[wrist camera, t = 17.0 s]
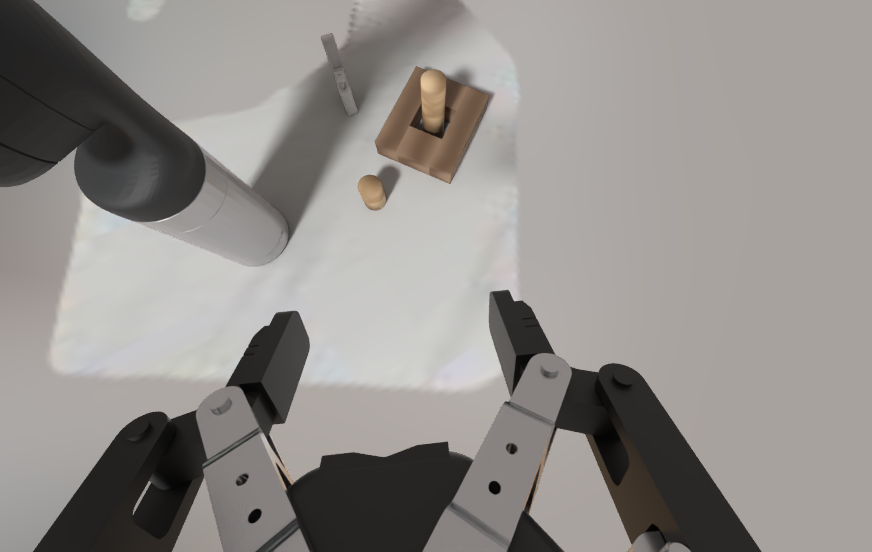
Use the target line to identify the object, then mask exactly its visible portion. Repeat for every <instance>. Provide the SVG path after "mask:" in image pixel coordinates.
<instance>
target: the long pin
mask: <svg viewBox="0 0 872 552" xmlns="http://www.w3.org/2000/svg"><path fill="white" fill-rule="evenodd" d="M445 95H446V77H445V75H444V74H443V73H442V72H441V71H439V70H435V69H432V70H428V71H426V72H424V73H423V75H422V76H421V100H422V122H423V132H426V133H428V134H431V135H433V136H435V137H438V138H441V137H442V136H443V132H444V113H445Z"/></svg>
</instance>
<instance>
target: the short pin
mask: <svg viewBox="0 0 872 552" xmlns="http://www.w3.org/2000/svg"><path fill="white" fill-rule="evenodd" d="M358 190H359V192H360V194H361V196H362V198H363V200H364V203H365V205H366V206H367V207H368V208H369V209H371V210H379V209H381V208H383V207H384V206H385V204H386V196H385V193H384V190H383V187H382V184H381V181H380V180H379V178H377V177H376V176H374V175H366V176H364V177H362V178H361V179H360V180H359V182H358Z"/></svg>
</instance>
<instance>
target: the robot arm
mask: <svg viewBox="0 0 872 552" xmlns="http://www.w3.org/2000/svg"><path fill="white" fill-rule="evenodd" d="M76 147H77V151H76V155H75V161H74V162H75V163H74V170H75V176H76V180H77V183H78V185H79V187H80V189H81V190H82V192H83V193H84V195H85V196H86V197H87V198H88V199H89V200H91V201H92V202H93V203H94V204H96V205H97V206H99V207H100V208H102V209H104V210H106V211H108V212H111V213H113V214H116V215H118V216H121V217H123V218H126V219H128V220H131V221H134V222H136V223H139V224H141V225H144V226H146V227H149V228H151V229H154V230H157V231H159V232H162V233H164V234H167V235H169V236H172V237H174V238H177V239H179V240H182V241H185V242H187V243H190V244H192V245H195V246H197V247H200V248H202V249H205V250H207V251H210V252H212V253H215V254H217V255H220V256H222V257H225V258H227V259H230V260H232V261H235V262H237V263H240V264H242V265H247V266H260V265H264V264H266V263H269V262H271V261H272V260H274V259H275V258H276V257H278V256H279V255H280V254H281V252H282V251H283V250H284V248H285V246H286V244H287V241H288V236H289V228H288V224H287V222H286V220H285V218H284V216H283V215H282V214H281V213H280V212H279V211H278V210H276V209H275V208H274V207H273V206H272V205H270V204H269V203H268V202H267V201H266V200H265V199H263V198H262V197H261V196H260V195H259V194H257V193H256V192H255V191H254V190H253V189H251V188H250V187H249V186H248V185H247V184H245V183H244V182H243V181H242V180H241V179H240V178H238V177H237V176H236V175H235V174H234V173H232V172H231V171H230V170H229V169H228V168H226V167H225V166H224V165H223V164H222V163H220V162H219V161H218V160H217V159H216V158H214V157H213V156H212V155H211V154H209V153H208V152H207V151H206V150H205V149H203V148H202V147H201V146H200V145H199V144H197V143H196V142H195V141H194V140H193V139H191V138H190V137H189V136H188V135H186V134H185V133H184V132H183V131H181V130H180V129H179V128H178V127H176V126H175V125H174V124H173V123H171V122H170V121H169V120H168V119H166V118H165V117H164V116H162V115H161V114H160V113H159V112H158V111H156V110H155V109H154V108H153V107H151V106H150V105H149V104H148V103H147V102H146V101H144V100H143V99H142V98H141V97H140V96H139V95H137V94H136V93H135V92H134V91H133V90H132V89H131V88H130V87H129V86H128V85H127V84H125V83H124V82H123V81H122V80H121V79H120V78H119V77H118V76H117V75H115V73H113V72H112V71H111V70H110V69H109V68H108V67H107V66H106V65H105V64H103V62H101V61H100V60H99V59H98V58H97V57H96V56H95V55H94V54H93V53H92V52H91V51H89V50H88V49H87V48H86V47H85V46H84V45H83V44H82V43H81V42H80V41H78V39H76V38H75V37H74V36H73V35H72V34H71V33H70V32H69V31H67V30H66V29H65V28H64V27H63V26H62V25H61V24H60V23H59V22H57V21H56V20H55V19H54V18H53V17H52V16H51V15H49V14H48V13H47V12H46V11H45V10H44V9H43V8H42V7H41V6H39V5H38V4H37V3H36V2H35V1H33V0H0V187H11V186H17V185H21V184H24V183H27V182H29V181H31V180H33V179H35V178H37V177H39V176H40V175H42V174H44V173H46V172H47V171H48V170H50V169H51V168H52V167H53V166H55V165H56V164H57V163H58V161H61V160H62V159H63V158H65V157H66V156H67V155H68V154H69V153H70V152H72V151H73V150H74V149H75V148H76ZM489 328H490V333H491V336H492V339H493V342H494V346H495V349H496V352H497V355H498V358H499V362H500V365H501V368H502V371H503V374H504V377H505V381H506V384H507V387H508V390H509V393H510V396H511V399H510V400H509V402H504V404H503V405H502V407H501V408H500V410H499V412H498V414H497V416H496V418H495V420H494V422H493V424H492V426H491V428H490V430H489V432H488V434H487V435H486V437H485V439H484V441H483V443H482V445H481V447H480V449H479V451H478V453H477V455H476V457H475V459H474V460H472V459H471V458H469V457H467V456H465V455H463V454H459V453H456V452H450V451H449V448H448V442H441V443H432V444H423V445H416V446H414V447H411V448H409V449H406V450H403V451H401V452H398V453H395V454H393V455H390V456H387V457H378V456H372V455H365V454H360V453H354V452H353V453H344V454H335V455H326V456H322V459H321V464H320V467H319V468H316V469H314V470H312V471H310V472H308V473H307V474H305V475H304V476H302V477H301V478H299V479H298V480H297V481H296V482H293V480H292V478H291V476H290V474H289V472H288V470H287V468H286V466H285V464H284V462H283V459H282V457H281V455H280V453H279V451H278V449H277V447H276V445H275V443H274V440H273V438H272V437H271V435H270V430H271V427H272V425H273V424H283V423H285V421H286V418H287V415H288V412H289V409H290V406H291V403H292V400H293V397H294V394H295V392H296V389H297V386H298V383H299V380H300V377H301V374H302V371H303V368H304V365H305V362H306V359H307V356H308V353H309V348H310V343H309V338H308V335H307V332H306V330H305V327H304V325H303V322H302V320H301V317H300V315H299V313H298V312H297V311H287V312H278V313H276V314H275V315H274V317H273V319H272V321H271V323H270V325H269V326H264V327H263V328H262V329H261V330H260V331H259V332H257V333H256V334H255V335H254V337H253V338H252V340H251V342H250V344H249V346H248V348H247V349H246V351H245V353H244V356H243V357H242V358H241V360H240V362H239V363H238V365H237V367H236V369H235V371H234V372H233V374H232V376H231V378H230V379H229V381H228V383H227V385H226V387H225V388H222V389H219V390H217V391H215V392H214V393H212V394H211V395H209V396H208V397H207V398H206V399H204V401H203V402H202V403H201V404H200V405H199V407H198V409H197V410H196V411H192V412H190V413H187V414H184V415H181V416H178V417H176V418H173V419H169V417H168V416H167V415H166V414H165V413H163V412H151V413H148V414H145V415H143V416H141V417H138V418H137V419H135V420H133V421H132V422H130V423H129V424H128V425H126V426H125V427H124V428H123V429H122V430H121V431H120V432H119V434H118V435H117V436H116V437H115V439H114V440H113V441H112V443H111V444H110V446H109V447H108V448H107V450H106V451H105V453H104V454H103V455H102V457H101V458H100V459H99V461H98V462H97V464H96V465H95V466H94V468H93V469H92V471H91V472H90V473H89V475H88V476H87V477H86V479H85V480H84V482H83V483H82V484H81V486H80V487H79V489H78V490H77V491H76V493H75V494H74V496H73V497H72V498H71V500H70V501H69V502H68V504H67V505H66V507H65V508H64V509H63V511H62V512H61V514H60V515H59V516H58V518H57V519H56V521H55V522H54V524H53V525H52V526H51V528H50V529H49V530H48V532H47V533H46V535H45V536H44V537H43V539H42V540H41V541H40V543H39V544H38V546H37V547H36V548H35V550H34V551H33V552H172V550H173V548H174V545H175V543H176V541H177V538H178V536H179V534H180V531H181V529H182V527H183V525H184V522H185V520H186V517H187V515H188V513H189V511H190V509H191V506H192V504H193V502H194V499H195V497H196V495H197V492H198V490H199V488H200V485H201V483H202V481H203V479H204V476H205V480H206V484H207V488H208V492H209V496H210V500H211V504H212V508H213V512H214V516H215V519H216V523H217V528H218V531H219V536H220V540H221V543H222V547H223V551H224V552H564V551H563V550H562V549H561V548H560V547H559V546H558V545H557V544H556V543H555V541H554V540H553V539H552V538H551V537H550V536H549V535H548V534H547V533H546V532H545V531H544V530H543V529H542V528H541V527H540V526H539V525H538V524H537V523H536V522H535V521H534V519H533V518H532V517H531V516H530V515H529V513H530V509H531V507H532V504H533V501H534V498H535V495H536V492H537V489H538V485H539V482H540V479H541V476H542V473H543V469H544V466H545V463H546V461H547V458H548V455H549V452H550V449H551V446H552V443H553V440H554V437H555V434H556V431H557V429H558V428H560V429H565V430H569V431H574V432H579V433H584V434H585V435H586V437H587V439H588V442H589V444H590V446H591V449H592V451H593V453H594V456H595V458H596V461H597V463H598V466H599V468H600V470H601V473H602V475H603V477H604V480H605V482H606V484H607V487H608V489H609V492H610V494H611V496H612V499H613V501H614V503H615V506H616V508H617V511H618V513H619V515H620V518H621V520H622V523H623V525H624V527H625V530H626V532H627V535H628V537H629V539H630V542H631V544H632V546H631V547H630V548H629V550H628V551H627V552H761V550H760V549H759V547H758V546H757V544H756V543H755V541H754V540H753V539H752V537H751V536H750V534H749V533H748V531H747V530H746V528H745V527H744V525H743V524H742V522H741V521H740V519H739V518H738V516H737V515H736V514H735V512H734V511H733V509H732V508H731V506H730V505H729V503H728V502H727V500H726V499H725V498H724V496H723V495H722V493H721V491H720V490H719V488H718V487H717V486H716V484H715V483H714V481H713V480H712V478H711V477H710V475H709V474H708V472H707V471H706V469H705V468H704V466H703V465H702V464H701V462H700V461H699V459H698V458H697V457H696V455H695V453H694V452H693V450H692V449H691V447H690V446H689V444H688V443H687V441H686V440H685V438H684V437H683V435H682V434H681V433H680V432H679V430H678V428H677V427H676V425H675V424H674V422H673V421H672V419H671V418H670V416H669V415H668V413H667V412H666V411H665V409H664V408H663V406H662V405H661V403H660V402H659V400H658V399H657V398H656V396H655V394H654V393H653V392H652V390H651V389H650V387H649V386H648V384H647V383H646V381H645V380H644V378H643V377H642V376H641V375H640V374H639V373H638V372H637V371H635V370H633V369H632V368H630V367H628V366H625V365H621V364H614V363H612V364H607V365H604V366H603V367H601V368H600V370H599V373H598V372H591V371H585V370H579V369H575V368H572V367H570V366H569V364H568V363H567V362H566V361H565V360H564V359H562V358H561V357H559V356H557V355H555V353H554V351H553V349H552V347H551V346H550V344H549V342H548V340H547V338H546V336H545V334H544V332H543V330H542V328H541V326H540V324H539V322H538V320H537V319H536V316H535V314H534V312H533V311H532V309H531V307H529V306H528V305H527V304H526V303H524V302H523V301H514V300H513V298H512V296H511V294H510V292H509V290H503V291H493V292H490V300H489ZM148 481H150V482H151V484H150V486H149V488H148V490H147V491H146V493H145V495H144V497H143V498H142V500H141V502H140V504H139V506H138V508H137V509H136V511H135V513H134V515H133V510H134V507H135V505H136V503H137V501H138V499H139V497H140V496H141V494H142V492H143V490H144V489H145V487H146V485H147V483H148Z"/></svg>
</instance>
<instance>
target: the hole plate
mask: <svg viewBox="0 0 872 552" xmlns="http://www.w3.org/2000/svg"><path fill="white" fill-rule="evenodd" d="M426 71H427V70H424V69H422V68H419V67H417V66H416V68H415V69H414V71H413V73H412V75H411V77H410V78H409V80H408V82H407V84H406V86H405V88H404V89H403V91H402V93H401V95H400V97H399V98H398V100H397V102H396V104H395V106H394V108H393V109H392V111H391V113H390V115H389V117H388V119H387V120H386V122H385V124H384V126H383V128H382V129H381V131H380V133H379V135H378V137H377V139H376V140H375V144H376V147H377V151H378V154H381V155H383V156H385V157H388V158H390V159H392V160H395V161H397V162H400V163H402V164H404V165H407V166H409V167H411V168H414V169H416V170H418V171H421V172H423V173H425V174H428V175H430V176H433V177H435V178H437V179H440V180H442V181H444V182H447V183H449V184H450V183H451V181H452V179H453V177H454V175H455V173H456V170H457V168H458V166H459V164H460V162H461V160H462V158H463V156H464V154H465V152H466V150H467V148H468V146H469V144H470V141H471V139H472V137H473V135H474V133H475V131H476V129H477V127H478V125H479V123H480V121H481V119H482V117H483V114H484V112H485V110H486V107H487V103H488V98H489V95H487V94H485V93H482V92H480V91H477V90H475V89H472V88H469V87H467V86H464V85H462V84H459V83H457V82H454V81H452V80H449V79H447V78H446V95H445V113H444V120H447V121H449V122H450V124H449V126H448V128H447V130H446V132H445V134H444V136H443V138H442V139H440V138H438V137H435V136H433V135H431V134H428V133H426V132H423V131H421V130H418V129H416V127H417V126H418V124H419V122H420V120H421V118H422V100H421V76H422V75H423V73H424V72H426Z"/></svg>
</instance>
